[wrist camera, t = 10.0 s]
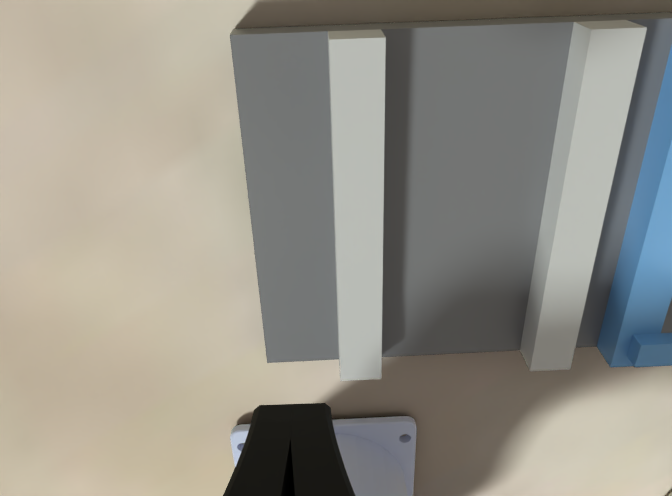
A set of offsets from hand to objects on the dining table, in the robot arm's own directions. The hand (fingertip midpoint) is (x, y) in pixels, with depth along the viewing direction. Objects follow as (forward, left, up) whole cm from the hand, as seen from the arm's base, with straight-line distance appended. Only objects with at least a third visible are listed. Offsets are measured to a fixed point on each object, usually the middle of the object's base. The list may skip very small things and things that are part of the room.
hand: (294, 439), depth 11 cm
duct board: (0, -10, -10) cm, 15 cm away
